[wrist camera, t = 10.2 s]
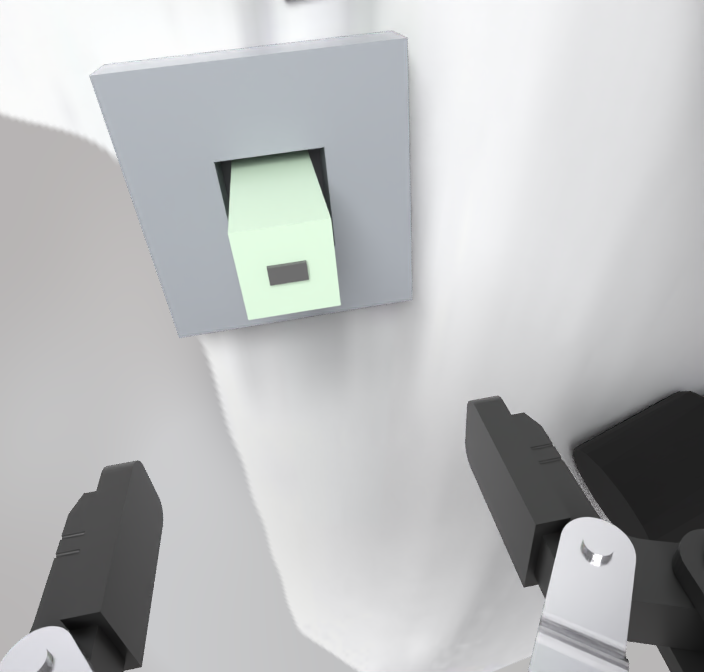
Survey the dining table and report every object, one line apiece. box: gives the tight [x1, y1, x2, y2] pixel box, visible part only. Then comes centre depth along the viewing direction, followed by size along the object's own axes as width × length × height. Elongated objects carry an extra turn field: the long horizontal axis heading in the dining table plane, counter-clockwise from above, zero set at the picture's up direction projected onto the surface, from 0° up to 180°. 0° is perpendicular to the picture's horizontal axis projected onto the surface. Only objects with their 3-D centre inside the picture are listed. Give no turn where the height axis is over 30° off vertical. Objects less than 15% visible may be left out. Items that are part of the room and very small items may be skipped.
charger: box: [228, 150, 341, 320], centre depth 25 cm, size 4×4×10 cm
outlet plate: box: [89, 31, 412, 338], centre depth 29 cm, size 14×14×3 cm
